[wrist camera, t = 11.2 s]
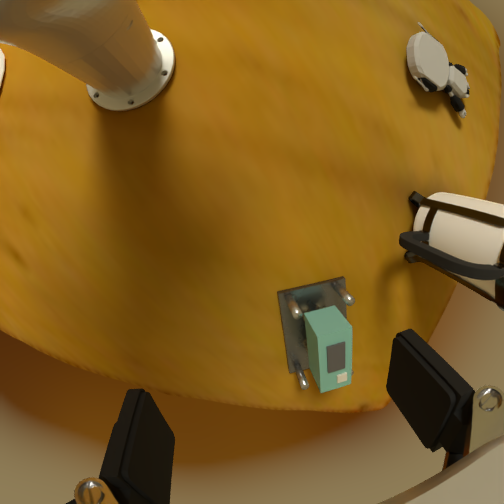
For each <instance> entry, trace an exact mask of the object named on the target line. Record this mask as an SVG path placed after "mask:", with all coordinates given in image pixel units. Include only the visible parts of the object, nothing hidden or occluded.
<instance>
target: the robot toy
mask: <svg viewBox="0 0 504 504" xmlns="http://www.w3.org/2000/svg"><path fill="white" fill-rule="evenodd" d="M418 25H419V26H421V28H422V29H423V30H424V31H425V32H419V33H417V34H415V35H413V36H411V37H410V39H409V42H408V45H407V62H408V67H409V71H410V73H411V75H412V77H413V79H415V80H416V81H417V83H418V84H419V85H420V86H421V87H423V88H424V90H425V91H429V92H434V91H439V90H444V91H445V93H448V94H449V95H450V100H451V105H452V106H453V108H454V109H455V111H456V112H459V115H460V116H461V118H465V116H466V111H465V110H464V105H463V103H462V101H461V99H460V98H468V97H469V90H468V89H470V87H469V84H468V82H467V80H466V77H465V76H468V73H466V72H467V69H466V68H465V67H464V66H462V65H459V64H455V65H453V64H452V63H450V62H448V57H447V53H446V51H445V49H444V47H443V45H441V44H440V43H439V41H437V40H436V39H435V38H434V37H433V36H431V34H429V33H428V32H427V31H426V30H425V29H424V27H423V26H422V25H421V24H420V23H419V22H418Z"/></svg>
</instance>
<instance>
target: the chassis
mask: <svg viewBox="0 0 504 504" xmlns="http://www.w3.org/2000/svg"><path fill="white" fill-rule="evenodd" d="M277 293H278V300H279V306H280V313H281V320H282V326H283V333H284V340H285V347H286V354H287V361H288V368H289V372H290V373H293V372H296V375H297V377H298V380H299V383H300V385H301V388H302V389H303V390H305V389H308V388H309V384H308V381H307V379H306V377H305V374H304V372H303V370H305V369H309V358H308V347H307V338H306V328H305V319H304V313H307V312H311V311H315V310H319V309H323V308H326V307H330V306H334V305H335V306H336V307H337V309H338V310H339V311H340V312H341V314H342V315H343V316H344V317H345V319H346V304H347V305H349V306H351V305H353V304H354V302H355V299H354V298H353V297H352V296H351V295H350V294H349V293H348V292H347V291H346V286H345V278H344V277H343V276H342V277H338V278H334V279H330V280H326V281H322V282H317V283H313V284H309V285H304V286H300V287H295V288H291V289H286V290H282V291H277ZM352 375H353V370H351V376H352Z"/></svg>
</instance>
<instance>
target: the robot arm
mask: <svg viewBox="0 0 504 504" xmlns="http://www.w3.org/2000/svg"><path fill="white" fill-rule="evenodd" d="M161 41H162V42H161ZM0 43H4V44H8V45H12V46H16V47H18V48H21V49H24V50H26V51H28V52H30V53H32V54H34V55H36V56H38V57H40V58H42V59H44V60H46V61H48V62H49V63H51V64H53V65H55V66H57V67H58V68H60V69H62V70H64V71H65V72H67V73H69V74H71V75H72V76H74V77H76V78H78V79H79V80H81V81H83V82H84V83H86V86H87V91H88V93H89V95H90V97H91V98H92V100H93V101H94V102H95V103H97V104H98V105H99V106H101V107H103V108H105V109H108V110H112V111H128V110H131V109H135V108H138V107H140V106H142V105H144V104H146V103H148V102H149V101H151V100H152V99H154V98H155V97H156V96H157V95H158V94H159V93H160V92H161V91H162V90H163V89H164V88H165V86H166V85H167V83H168V82H169V80H170V78H171V76H172V73H173V71H174V66H175V54H174V50H173V47H172V45H171V43H170V41H169V40H168V39H167V38H166V37H165V36H164V35H163V34H161V33H159V32H157V31H155V30H151V29H150V28H149V26H148V24H147V22H146V20H145V18H144V16H143V14H142V12H141V10H140V8H139V6H138V4H137V2H136V1H135V0H0ZM165 74H167V75H166V76H164V75H165ZM98 96H99V97H98ZM132 102H134V104H133V105H132ZM386 388H387V392H388V394H389V395H390V397H391V398H392V399H393V401H394V402H395V404H396V405H397V407H398V408H399V410H400V411H401V412H402V414H403V415H404V417H405V418H406V420H407V421H408V423H409V424H410V426H411V427H412V428H413V430H414V432H415V433H416V435H417V436H418V438H419V439H420V440H421V442H422V444H423V445H424V446H425V447H426V448H430V449H431V451H432V452H435V451H436V450H438V449H440V448H441V447H443V448H444V449H445V450H446V454H445V459H444V464H443V469H442V471H441V472H440V473H438V474H436V475H434V476H433V477H431V478H429V479H427V480H425V481H424V482H422V483H420V484H418V485H416V486H414V487H412V488H411V489H408V490H407V491H405V492H403V493H400V494H398V495H396V496H394V497H392V498H390V499H387V500H385V501H383V502H380V503H378V504H504V393H503V391H502V390H501V389H499V388H498V387H496V386H491V385H488V386H483V387H480V388H479V389H478V390H477V391H476V392H475V391H474V390H473V388H472V387H471V386H470V385H469V384H468V383H467V382H466V381H465V380H464V379H463V378H462V377H461V376H460V375H459V374H458V373H457V372H456V371H455V370H454V369H453V368H452V367H451V366H450V365H449V364H448V363H447V362H446V361H445V360H444V359H443V358H442V357H441V356H440V355H439V354H438V353H437V352H436V351H435V350H434V349H432V348H431V347H430V346H429V345H428V344H427V343H426V342H425V341H424V340H423V339H422V338H421V337H420V336H419V335H418V334H417V333H415V332H414V331H413V330H412V329H407V330H405V331H402V332H400V333H397V335H396V338H394V339H393V344H392V352H391V360H390V366H389V373H388V379H387V385H386ZM174 445H175V437H174V434H173V432H172V430H171V429H170V427H169V426H168V424H167V422H166V421H165V419H164V417H163V416H162V414H161V412H160V411H159V409H158V407H157V406H156V404H155V402H154V400H153V398H152V396H151V395H150V393H149V392H145V390H144V389H129V390H128V391H127V393H126V396H125V399H124V402H123V405H122V408H121V411H120V414H119V418H118V421H117V422H116V423H115V425H114V427H113V430H112V433H111V437H110V440H109V443H108V447H107V450H106V453H105V457H104V461H103V464H102V468H101V471H100V475H99V479H98V478H94V477H89V478H86V479H83V480H82V481H80V482H79V483H78V484H77V485H76V488H75V490H74V497H75V499H73V500H72V501H70V502H68V503H66V504H170V489H171V477H172V465H173V455H174Z"/></svg>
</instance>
